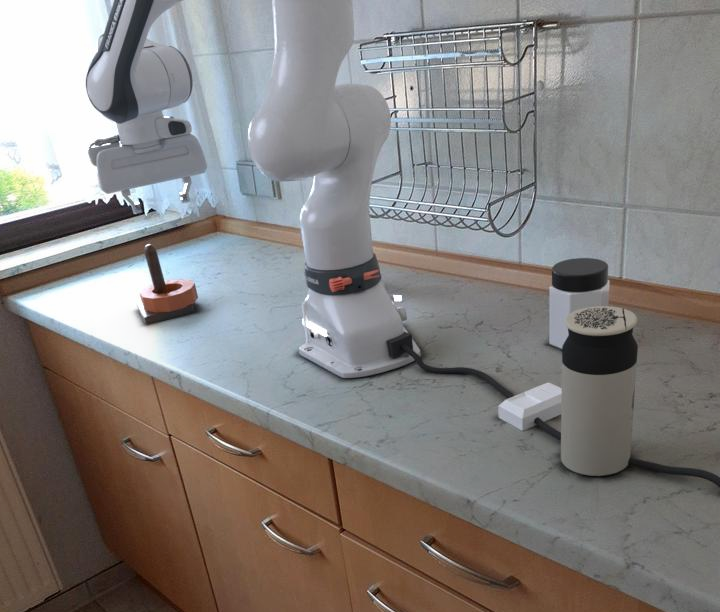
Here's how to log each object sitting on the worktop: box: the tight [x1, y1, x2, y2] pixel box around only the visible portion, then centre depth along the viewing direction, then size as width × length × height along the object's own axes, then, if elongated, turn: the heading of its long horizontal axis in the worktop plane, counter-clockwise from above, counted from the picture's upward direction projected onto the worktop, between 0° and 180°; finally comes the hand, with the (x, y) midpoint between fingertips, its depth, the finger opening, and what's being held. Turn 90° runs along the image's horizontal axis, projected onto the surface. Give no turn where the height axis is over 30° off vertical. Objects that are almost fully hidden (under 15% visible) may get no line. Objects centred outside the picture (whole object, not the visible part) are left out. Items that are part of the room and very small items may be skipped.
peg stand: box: [136, 243, 196, 325], centre depth 158 cm, size 10×10×14 cm
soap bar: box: [497, 382, 562, 432], centre depth 106 cm, size 5×9×3 cm, turn 120°
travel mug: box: [560, 305, 639, 477], centre depth 90 cm, size 8×8×18 cm
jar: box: [548, 257, 611, 350], centre depth 121 cm, size 9×8×12 cm
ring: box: [139, 278, 199, 313], centre depth 160 cm, size 11×11×3 cm
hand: (162, 207), depth 152 cm, fingers open, 8 cm apart
